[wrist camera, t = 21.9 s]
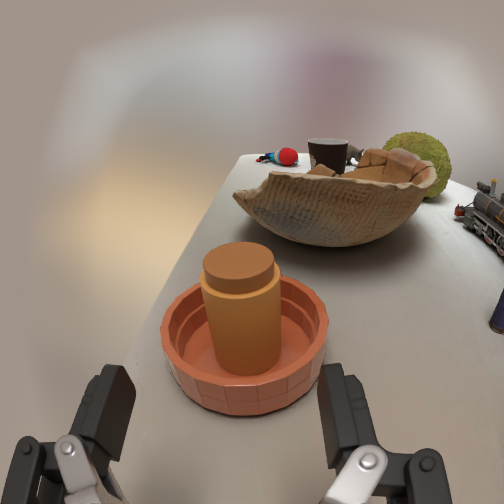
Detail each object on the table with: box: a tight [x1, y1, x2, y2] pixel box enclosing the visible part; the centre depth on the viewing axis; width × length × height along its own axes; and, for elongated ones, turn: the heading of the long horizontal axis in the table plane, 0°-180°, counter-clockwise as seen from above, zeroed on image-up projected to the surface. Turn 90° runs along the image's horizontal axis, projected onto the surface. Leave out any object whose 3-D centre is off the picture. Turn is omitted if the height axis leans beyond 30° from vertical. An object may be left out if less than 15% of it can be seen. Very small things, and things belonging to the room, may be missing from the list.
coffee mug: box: [308, 138, 348, 175], centre depth 63 cm, size 12×9×10 cm
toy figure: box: [256, 148, 298, 165], centre depth 83 cm, size 8×5×15 cm
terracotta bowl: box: [160, 275, 329, 416], centre depth 24 cm, size 13×13×4 cm
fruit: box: [382, 132, 452, 198], centre depth 55 cm, size 16×14×15 cm
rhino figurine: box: [345, 145, 364, 166], centre depth 79 cm, size 4×14×6 cm, turn 50°
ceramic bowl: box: [232, 148, 438, 247], centre depth 42 cm, size 30×27×15 cm
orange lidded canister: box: [200, 242, 281, 376], centre depth 23 cm, size 6×6×9 cm
